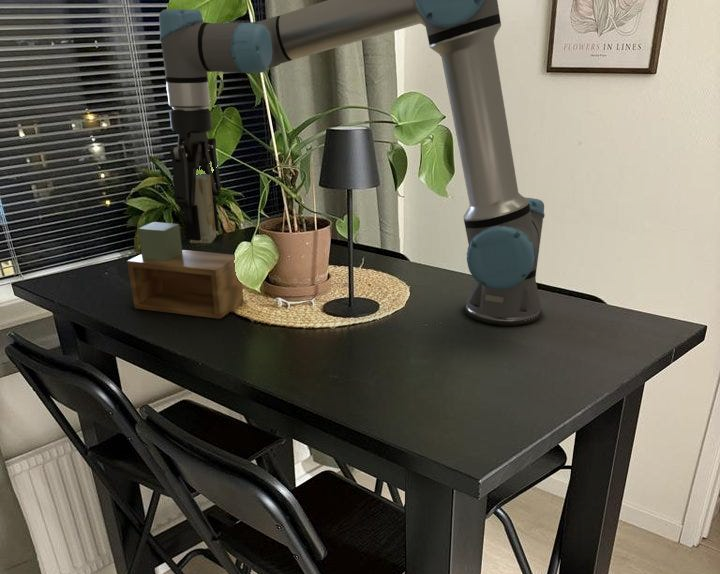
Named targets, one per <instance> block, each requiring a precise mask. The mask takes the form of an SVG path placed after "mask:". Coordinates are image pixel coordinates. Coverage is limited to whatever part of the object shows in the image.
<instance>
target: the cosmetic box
mask: <svg viewBox="0 0 720 574" xmlns="http://www.w3.org/2000/svg"><path fill="white" fill-rule="evenodd" d="M194 205H197V208H198V218H199V227H200V237H201V240H199V241H197V240H189V243H190V244H212V243H213V242H214V241H215V239H216V237H217V231H216V226H215V217H214V206H213V196H212V186H211V179H210V174H201V175H200V174H198V175H196V185H195V201H194Z"/></svg>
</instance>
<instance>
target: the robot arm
mask: <svg viewBox="0 0 720 574" xmlns="http://www.w3.org/2000/svg"><path fill="white" fill-rule="evenodd" d="M158 20H159V21H158V22H159V36H160V37H159V42H160V43H161V51H162V52H161V53H162V58H163V68H164V74H165V83H166V88H165V90H166V91H165V92H167V103H168V106H169V107H171V109H170V110H169V119H170V120H169V121H170V129H171V130H172V131H173V132H174V133H176V134H177V135H178V136H177V137H178V138H177V146H170V147H169V154H170V157H171V162H172V164H171V165H172V178H173V179H172V180H173V193H174V203H175V204H176V205H177V206H182V211H183V220H184V229H185V237H186V240H187V241H190V240H197V241H199V240H201V237H200V227H199V218H198V208H197V205H194V201H195V185H196V173H197V169H198V170H199V166H201V167H200V170H201V169H202V170H203V171H205V173H206V174H210V179H211V186H212V196H213V206H214V217H215V226H216V232H218V231H220V230H219V229H220V228H219V218H218V217H219V216H218V208H217V207H218V206H217V197H220V196H221V194H222V192H221V191H222V184H221V178H220V177H221V176H220V170H219V164H218V155H217V140H216V138H215V137H208V134H207V133H209V132H211V131H212V129H213V122H212V111H211V110H210V108H208V107H209V106H210V105H211V98H210V89H209V79H208V72H210V73H214V72H218V73H238V74H239V73H241V74H247V75H250V74H261V73H265V72H267V71H268V69H270V68H274V67H278V66H279V65H281V64H284V63H288V62H291V61H294V60H297V59H301V58H305V57H307V56H311V55H315V54H318V53H322V52H325V51H329V50H332V49H336V48H339V47H343V46H346V45H350V44H354V43H357V42H361V41H364V40H368V39H371V38H375V37H378V36H381V35H386V34H389V33H392V32H395V31H396V32H397V31H399V30H403V29H406V28H409V27H414V26H417V25H422V26H424V27H425V30H426V36H427V41H428V45H429V49H431V50H432V51H434V52H435V53H437V54H438V55H439V56H440V58H441V63H442V68H443V74H444V78H445V83H446V89H447V94H448V99H449V105H450V109H451V114H452V121H453V124H454V128H455V129H454V131H455V135H456V140H457V146H458V150H459V151H458V152H459V157H460V161H461V166H462V171H463V176H464V182H465V187H466V192H467V198H468V204H469V205H468V208H467V209H466V212H465V213H464V215H463V223H464V228H465V233H466V238H467V244H468V246H467V251H466V252H467V253H466V263H467V268H468V271H469V273H470V275H471V276H472V278H473V279H474V282H473V284H472V287H471V289H470V292H469V293H468V296H467V298H466V302H465V315H467V316H468V317H469V318H471V319H473V320H474V321H478V322H479V323H484V324H489V325H492V326H494V325H495V326H506V327H507V326H508V327H509V326H510V327H511V326H513V327H514V326H523V325H527V324H531V323H534V322H535V321H537V320H539V318H540V316H541V310H542V309H541V308H542V306H541V299H540V296H539V290H538V285H537V279H536V277H537V269H538V262H539V255H540V254H539V253H540V248H541V247H540V246H541V239H542V238H541V237H542V230H543V222H544V219H545V202H544V201H542V199H538V198H534V197H525V196H523V195H522V194H521V193H519V187H518V182H517V175H516V169H515V164H514V163H515V162H514V157H513V156H514V155H513V150H512V144H511V139H510V138H511V137H510V133H509V132H510V131H509V125H508V120H507V115H506V108H505V101H504V96H503V90H502V83H501V77H500V71H499V64H498V58H497V52H496V47H495V46H496V45H495V38H496V36H497V35H498V33H499V31H500V29H501V27H502V22H501V14H500V8H499V2H498V0H324V1H321V2H318V3H315V4H311V5H309V6H305V7H301V8H299V9H295V10H293V11H289V12H286V13H282V14H280V15H276V16H272V17H270V18H267V19H263V20H259V21H250V22H249V21H247V22H213V23H212V22H204V18H203V14H202V11H200V10H199V9H183V8H182V9H178V8H177V9H176V8H175V9H173V8H172V9H170V8H169V9H163V10H161V11H160V12H159V16H158ZM210 161H211V162H212V167H213V169H214V171H213V173H212V171H211V167H210V164H209V163H210ZM217 165H218V167H217ZM216 167H217V168H216ZM539 313H540V314H539ZM538 314H539V315H538ZM537 315H538V316H537ZM536 316H537V317H536ZM534 317H535V318H534ZM532 318H533V319H532ZM529 319H530V320H529ZM525 320H526V321H525Z"/></svg>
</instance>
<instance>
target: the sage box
mask: <svg viewBox="0 0 720 574" xmlns="http://www.w3.org/2000/svg"><path fill="white" fill-rule="evenodd" d="M180 229H181V228H180V224H179V223H171V222H161V221H160V222H159V221H152V222H150V223H147V224H145V225H143V226H140V227H138V228H137V232H138V240H139V246H140V252H141V254H142V258H143V259H153V260H163V261H169V260H171V259H173V258H175V257H176V256H178V255H180V254H182V250H183V244H182V238H181V237H182V236H181V230H180Z"/></svg>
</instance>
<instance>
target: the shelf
mask: <svg viewBox="0 0 720 574" xmlns="http://www.w3.org/2000/svg"><path fill="white" fill-rule="evenodd" d="M235 255H236V254H229V253H219V252H210V251H200V250H199V251H198V250H189V249H182V254H180V255H178V256H176V257H175V258H173V259H171V260H169V261H163V260H153V259H143V258H142V254H139V255H137V256H133V257H132V258H130V259H128V260H126V263H127V269H128V270H127V271H128V275H129V282H130V288H131V289H130V290H131V294H132V301H133V307H134V309H138V310H144V311H153V312H160V313H168V314H176V315H184V316H193V317H202V318H208V319H217V320H221V319H223V318H224V317H225V316H226V315H228V314H230V313H231V312H232V311H233V310H235V309H236V308H237V307H239V306H240V305H241V304H244V290H243V282H242V283H241V282H240V281H239V280H238V278H237V276H236V272H235V263H234V260H235Z"/></svg>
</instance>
